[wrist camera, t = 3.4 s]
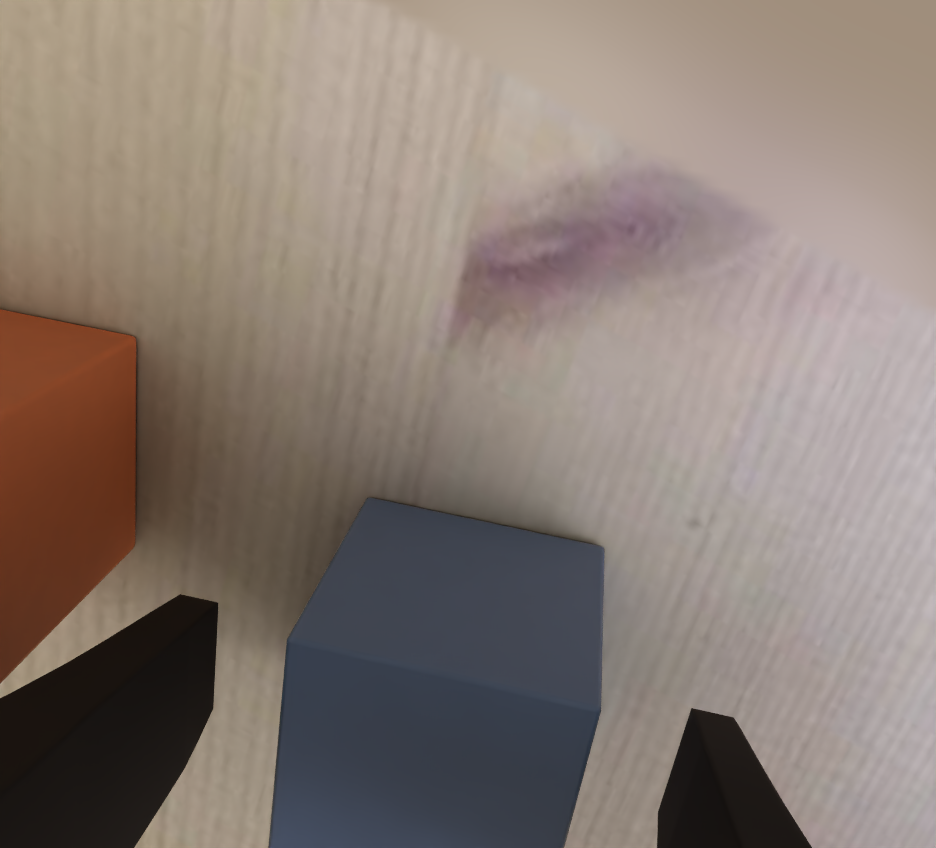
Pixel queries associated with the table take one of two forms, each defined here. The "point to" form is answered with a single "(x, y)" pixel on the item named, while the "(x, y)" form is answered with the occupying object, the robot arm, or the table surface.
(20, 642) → the terracotta block
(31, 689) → the robot arm
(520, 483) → the table surface
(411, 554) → the blue block
